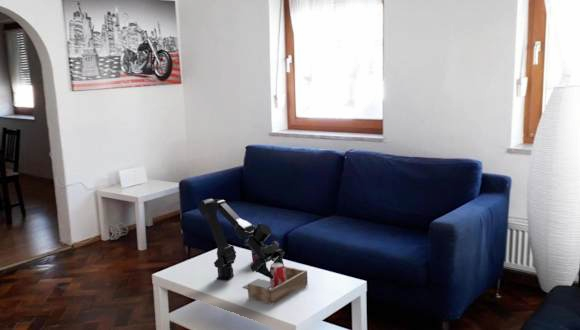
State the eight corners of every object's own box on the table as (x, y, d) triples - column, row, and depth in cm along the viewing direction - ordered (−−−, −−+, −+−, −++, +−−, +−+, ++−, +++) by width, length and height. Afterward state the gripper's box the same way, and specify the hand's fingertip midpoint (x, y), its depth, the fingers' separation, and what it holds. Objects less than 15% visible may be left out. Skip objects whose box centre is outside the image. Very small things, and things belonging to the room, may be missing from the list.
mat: (242, 287, 249) (242, 286, 249) (257, 279, 257) (257, 278, 257) (261, 292, 242) (261, 291, 242) (276, 283, 251) (276, 283, 251)
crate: (248, 297, 237) (247, 284, 236) (284, 277, 258) (284, 265, 257) (272, 304, 229) (271, 290, 228) (307, 283, 250) (307, 270, 249)
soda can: (284, 293, 239) (283, 267, 237) (269, 293, 241) (267, 267, 239) (287, 287, 246) (286, 262, 244) (272, 287, 247) (271, 261, 245)
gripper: (253, 242, 235) (275, 271, 230) (279, 231, 249) (300, 258, 245) (241, 257, 241) (262, 285, 236) (267, 245, 255) (287, 272, 251)
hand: (278, 275), depth 242 cm, fingers open, 9 cm apart
